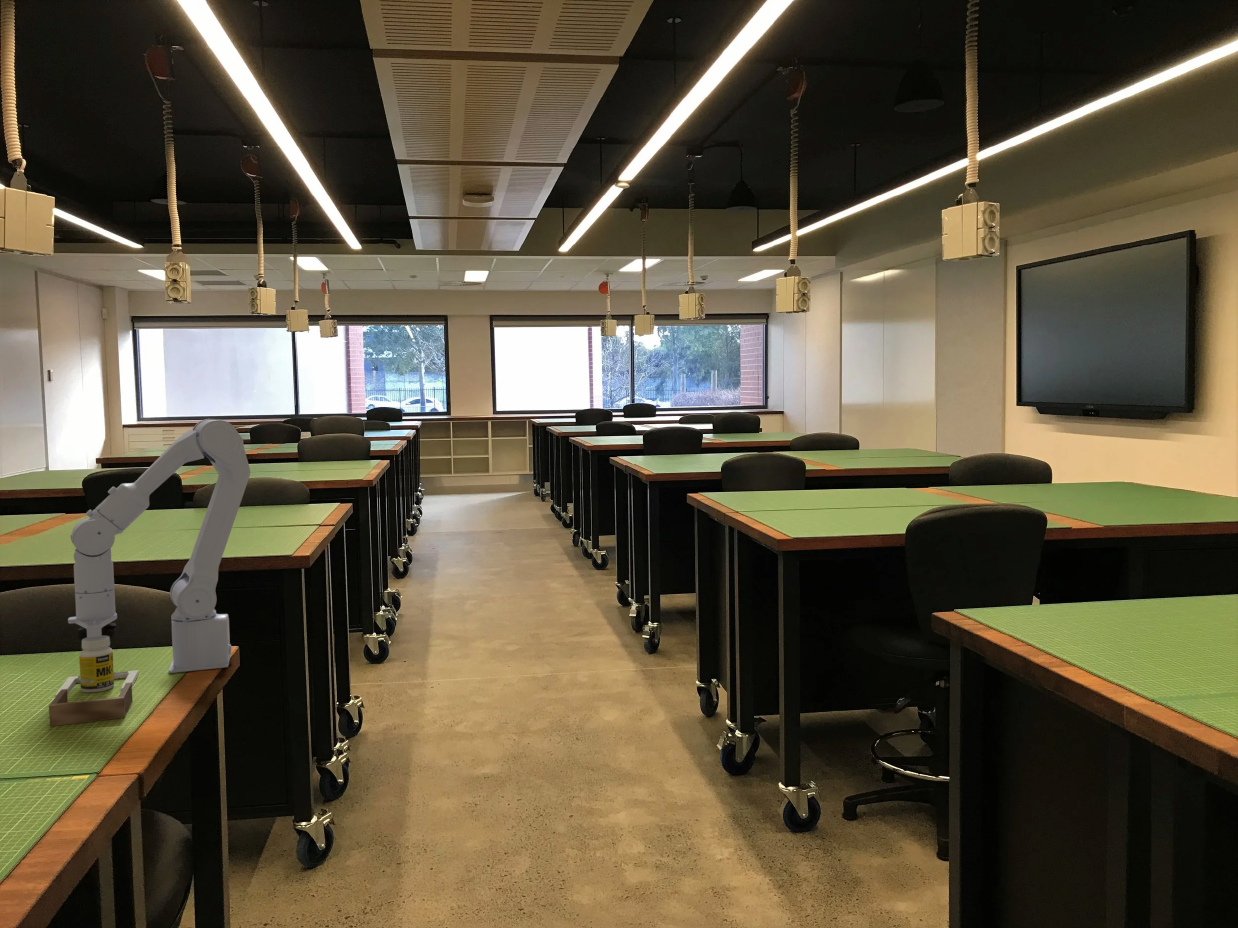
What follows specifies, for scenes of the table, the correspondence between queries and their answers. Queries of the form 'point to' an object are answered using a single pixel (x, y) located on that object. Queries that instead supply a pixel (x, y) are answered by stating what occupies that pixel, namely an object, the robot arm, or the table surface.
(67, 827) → the table surface
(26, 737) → the table surface
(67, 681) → the dock
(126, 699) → the holder
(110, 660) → the supplement bottle
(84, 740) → the table surface
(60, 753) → the table surface
